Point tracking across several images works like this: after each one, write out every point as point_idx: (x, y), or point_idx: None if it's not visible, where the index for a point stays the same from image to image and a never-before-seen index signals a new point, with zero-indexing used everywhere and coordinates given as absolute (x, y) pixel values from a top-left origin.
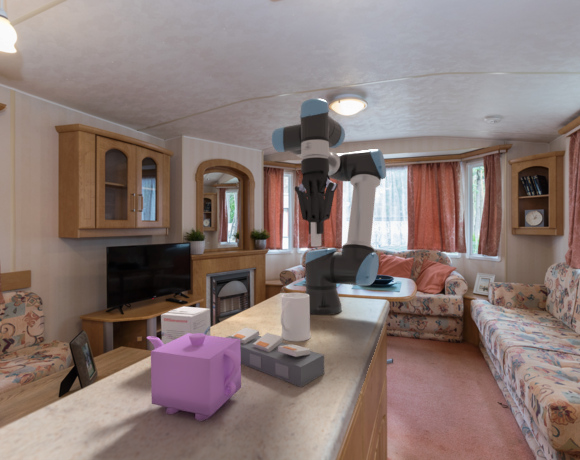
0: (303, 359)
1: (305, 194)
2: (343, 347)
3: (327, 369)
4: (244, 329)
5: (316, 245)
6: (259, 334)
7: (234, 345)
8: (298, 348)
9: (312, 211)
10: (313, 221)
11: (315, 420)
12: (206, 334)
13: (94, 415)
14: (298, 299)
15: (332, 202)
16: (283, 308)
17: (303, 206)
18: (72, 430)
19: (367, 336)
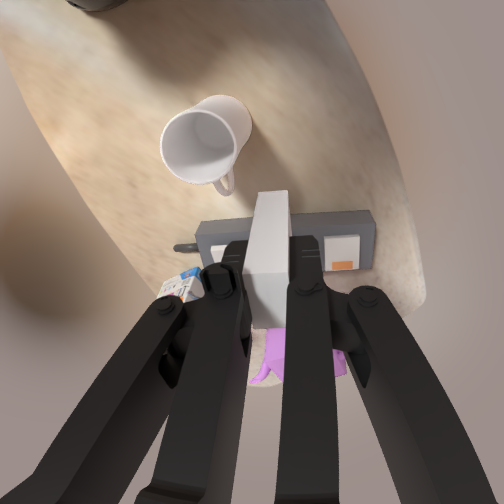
0: (360, 251)
1: (72, 497)
2: (333, 106)
3: (365, 197)
4: (217, 255)
5: (291, 231)
6: None
7: (334, 349)
8: (347, 251)
9: (242, 383)
10: (250, 312)
11: (407, 282)
12: (197, 295)
13: (260, 363)
14: (232, 166)
15: (453, 408)
16: (222, 194)
17: (160, 425)
18: (270, 371)
19: (329, 22)
